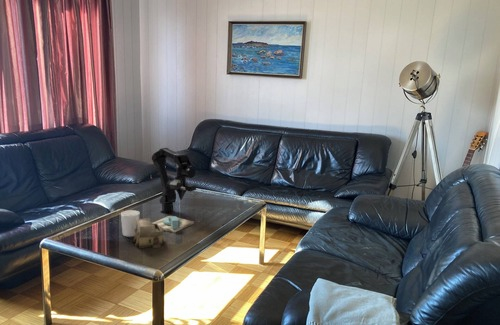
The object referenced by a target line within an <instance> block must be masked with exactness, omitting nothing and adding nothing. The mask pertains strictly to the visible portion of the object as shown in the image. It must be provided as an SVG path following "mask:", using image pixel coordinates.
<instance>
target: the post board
mask: <svg viewBox="0 0 500 325" xmlns="http://www.w3.org/2000/svg"><path fill="white" fill-rule="evenodd" d="M170 216H171V215H168V216H165V217H163V218H161V219H158V220H156V221H154V222H153V221H152V223H153V224H158V225H159V226H160V228H161V229H162V231H166V232H169V233H174V234H175V233H176V232H179V231H181V230H183V229H186V228H187V227H190V226H192V225H194V223H195V222H194V221H193V220H189V219H185V218H180V217H178V218H179V219H180V220H181V223H180V221H178V229H172V227H171V225H166V224H164V223H163V220H164V219H166V218H169V217H170Z"/></svg>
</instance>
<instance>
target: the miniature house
mask: <svg viewBox="0 0 500 325" xmlns="http://www.w3.org/2000/svg"><path fill="white" fill-rule="evenodd" d="M163 235H164V230H162V229H161V228H160V226H159V225H158V224H153V221H152V220H151V218H150V217H148V218H139V219H136V228H135V236H133V237H134V238H133V240H132V242H133V243H135V245H134V247H136V248H137V247H138V248H139V249H145V248H152V249H155V248H157V249H158V248H161V246H163V244H165V239H164V237H163Z"/></svg>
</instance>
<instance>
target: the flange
mask: <svg viewBox="0 0 500 325" xmlns="http://www.w3.org/2000/svg"><path fill="white" fill-rule="evenodd" d="M169 216H170V217H169V218H166V219H164V220H163V223H164V224H166V225H171V227H172V229H178V221H180V223H181V220H180V219H179V218H180V217H177V216H176V215H175V216H174V215H169Z"/></svg>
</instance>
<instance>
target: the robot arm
mask: <svg viewBox="0 0 500 325" xmlns="http://www.w3.org/2000/svg"><path fill="white" fill-rule="evenodd" d="M167 158H169V159H171V160H173V162H174V163H175V164H174V167H176V175H175V177H174V180H170V179H169V176H168V173H167V168H166V163H167ZM151 161H152V163H153V165H154V166H155V167H156V169H157V171H158V172H157V173H158V175H159V178H160V183H161V186H162V192H161V197H160V199H159V203H160V204H161V210H160V213H163V214H167V215H169V214H171V213H174V212H175V210H174V203H176V200H177V195H178V197H179V200H183V198H184V196H185V194H186V192H194V191H197V185H196V184H188V182H187V178H188V179H192V178H194V177H195V176H196V173H197V172H196V170H195V169H194V166H193V165H192V164H191V161H190V158H189V156H188V154H186V153H179V152H176V151H174V150H171V149H169V148H168V147H162V148H159V150H157V151H156V152H154V153H153V154H152V156H151Z"/></svg>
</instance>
